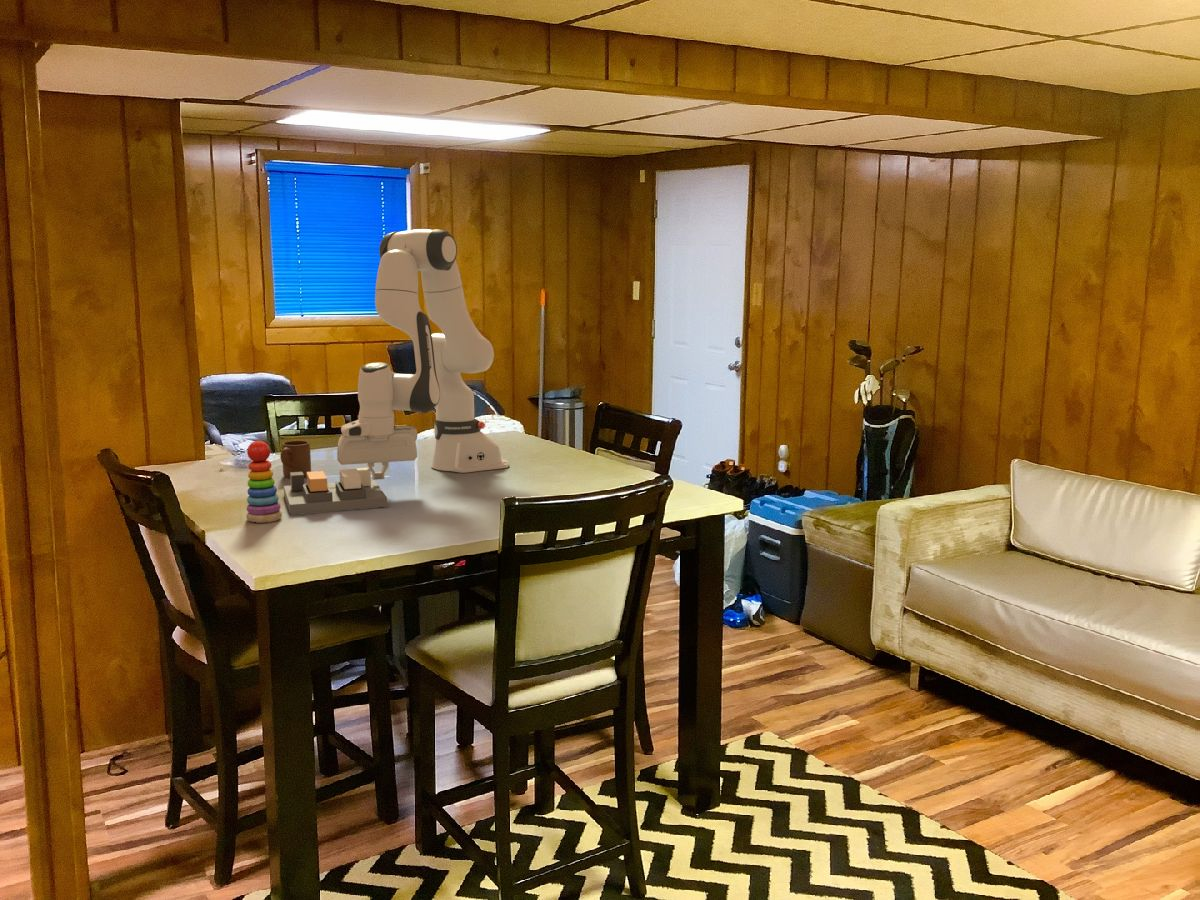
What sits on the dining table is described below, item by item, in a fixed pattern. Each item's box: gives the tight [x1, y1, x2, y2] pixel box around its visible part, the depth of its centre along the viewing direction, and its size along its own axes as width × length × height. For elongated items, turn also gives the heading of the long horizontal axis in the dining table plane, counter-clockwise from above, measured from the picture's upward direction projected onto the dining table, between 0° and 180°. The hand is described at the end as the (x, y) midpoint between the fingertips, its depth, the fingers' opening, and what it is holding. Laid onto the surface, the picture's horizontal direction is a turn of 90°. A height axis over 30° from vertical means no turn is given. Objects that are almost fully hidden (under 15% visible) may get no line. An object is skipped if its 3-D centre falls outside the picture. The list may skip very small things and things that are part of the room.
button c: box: [306, 470, 328, 492], centre depth 249 cm, size 4×9×3 cm, turn 21°
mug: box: [279, 440, 312, 479], centre depth 281 cm, size 12×8×9 cm, turn 170°
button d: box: [339, 468, 361, 489], centre depth 251 cm, size 4×9×3 cm, turn 21°
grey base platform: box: [283, 479, 388, 516], centre depth 255 cm, size 23×21×5 cm
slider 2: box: [355, 467, 372, 486], centre depth 262 cm, size 3×4×4 cm
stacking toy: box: [245, 440, 283, 524], centre depth 236 cm, size 8×8×19 cm
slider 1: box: [289, 472, 305, 491], centre depth 256 cm, size 3×4×4 cm
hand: (378, 479), depth 263 cm, fingers closed
